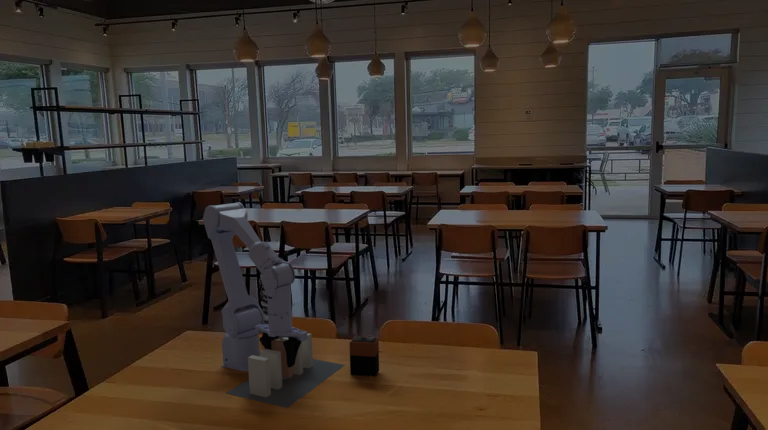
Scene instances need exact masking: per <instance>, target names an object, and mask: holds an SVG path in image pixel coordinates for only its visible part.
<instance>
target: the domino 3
mask: <svg viewBox="0 0 768 430" xmlns="http://www.w3.org/2000/svg"><path fill="white" fill-rule="evenodd" d="M284 341H285V340H280V339H274V340H272V341H271V347H272V350H274V351H280V352H281V369H282V377H285V378H290V377H292V376H293V366H292V367H288V366H287V356H286V351H285V347H284V345H283V342H284Z"/></svg>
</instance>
